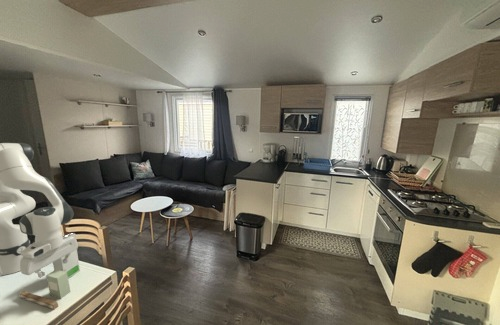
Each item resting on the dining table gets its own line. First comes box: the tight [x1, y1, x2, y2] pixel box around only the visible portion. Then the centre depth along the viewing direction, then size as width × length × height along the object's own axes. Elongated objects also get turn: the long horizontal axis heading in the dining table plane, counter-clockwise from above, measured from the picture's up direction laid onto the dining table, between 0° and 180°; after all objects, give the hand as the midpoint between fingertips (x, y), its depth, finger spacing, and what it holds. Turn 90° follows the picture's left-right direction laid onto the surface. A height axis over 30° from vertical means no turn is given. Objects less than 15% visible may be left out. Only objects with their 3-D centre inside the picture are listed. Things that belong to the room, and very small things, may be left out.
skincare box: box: [52, 248, 81, 279], centre depth 107 cm, size 8×7×16 cm
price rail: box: [19, 290, 59, 311], centre depth 92 cm, size 22×2×2 cm, turn 75°
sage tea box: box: [45, 269, 71, 299], centre depth 96 cm, size 7×4×11 cm, turn 75°
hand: (54, 269), depth 94 cm, fingers open, 8 cm apart
